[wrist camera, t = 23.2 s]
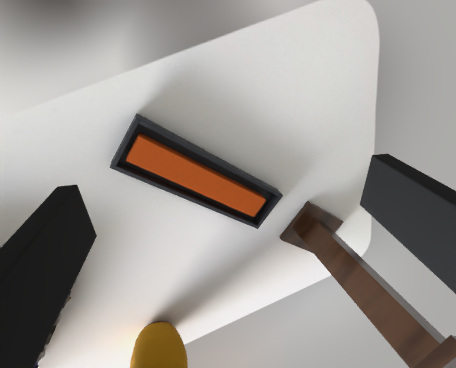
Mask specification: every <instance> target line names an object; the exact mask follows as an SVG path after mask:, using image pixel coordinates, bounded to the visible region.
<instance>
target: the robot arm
mask: <svg viewBox="0 0 456 368" xmlns="http://www.w3.org/2000/svg"><path fill="white" fill-rule="evenodd" d="M360 205H361V206H362V207H363V208H364V209H365V210H366V211H367V212H368V213H369V214H371V215H372V216H373V217H374V218H375V219H376V220H377V221H378V222H379V223H380V224H381V225H382V226H383V227H385V228H386V229H387V230H388V231H389V232H390V233H391V234H392V235H393V236H394V237H395V238H396V239H397V240H398V241H400V242H401V243H402V244H403V245H404V246H405V247H406V248H407V249H408V250H409V251H410V252H411V253H413V254H414V255H415V256H416V257H417V258H418V259H419V260H420V261H421V262H422V263H423V264H424V265H425V266H427V268H429V269H430V270H431V271H432V272H433V273H434V274H435V275H436V276H437V277H438V278H440V279H441V280H442V281H443V282H444V283H445V284H446V285H447V286H448V287H449V288H450V289H451V290H452V291H453V292H454V293H455V294H456V191H455V190H453V189H451V188H449V187H448V186H446V185H444V184H442V183H440V182H438V181H436V180H435V179H433V178H431V177H429V176H427V175H425V174H424V173H422V172H420V171H418V170H416V169H415V168H413V167H411V166H409V165H407V164H405V163H404V162H402V161H400V160H398V159H396V158H394V157H393V156H391V155H389V154H380V155H372V158H371V162H370V166H369V170H368V174H367V178H366V182H365V186H364V190H363V194H362V197H361V201H360ZM96 237H97V235H96V233H95V230H94V227H93V225H92V222H91V220H90V217H89V214H88V212H87V209H86V207H85V204H84V202H83V199H82V196H81V194H80V191H79V189H78V186H77V185H69V186H59V187H57V188H56V189H55V190H54V191H53V192H52V193H51V194H50V195H49V196H48V197H47V199H46V200H45V201H44V202H43V203H42V204H41V205H40V206H39V207H38V208H37V209H36V210H35V212H34V213H33V214H32V215H31V216H30V217H29V218H28V219H27V220H26V221H25V222H24V223H23V225H22V226H21V227H20V228H19V229H18V230H17V231H16V232H15V233H14V234H13V235H12V236H11V238H10V239H9V240H8V241H7V242H6V243H5V244H4V245H3V246H2V247H1V248H0V368H34V366H35V364H36V362H37V360H38V358H39V356H40V353H41V351H42V349H43V347H44V345H45V343H46V341H47V339H48V337H49V335H50V333H51V330H52V328H53V326H54V324H55V322H56V320H57V318H58V316H59V314H60V312H61V310H62V308H63V305H64V303H65V301H66V299H67V297H68V295H69V293H70V291H71V289H72V287H73V285H74V282H75V280H76V278H77V276H78V274H79V272H80V270H81V268H82V266H83V264H84V262H85V260H86V257H87V255H88V253H89V251H90V249H91V247H92V245H93V243H94V241H95V239H96Z"/></svg>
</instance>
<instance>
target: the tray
mask: <svg viewBox="0 0 456 368" xmlns="http://www.w3.org/2000/svg"><path fill="white" fill-rule="evenodd" d="M139 132H140V133H142V134H144V135H146V136H148V137H150V138H152V139H154V140H156V141H158V142H160V143H162V144H164V145H166V146H168V147H170V148H172V149H174V150H176V151H178V152H180V153H182V154H183V155H185V156H187V157H189V158H191V159H193V160H195V161H197V162H199V163H201V164H203V165H205V166H207V167H209V168H211V169H213V170H215V171H217V172H219V173H221V174H223V175H225V176H227V177H229V178H230V179H232V180H234V181H236V182H238V183H240V184H242V185H244V186H246V187H248V188H250V189H252V190H254V191H256V192H258V193H260V194H262V196H263V197H264V198H265V199H266V201H265V203H264V204H263V205H262V207H261V208H260V209H259V211H258V212H257V213H256V215H255V216H254V217H252V216H250V215H248V214H246V213H243V212H241V211H239V210H237V209H234V208H232V207H230V206H228V205H225V204H223V203H221V202H219V201H216V200H214V199H212V198H210V197H207V196H205V195H203V194H200V193H198V192H196V191H194V190H191V189H189V188H187V187H185V186H182V185H180V184H178V183H176V182H173V181H171V180H169V179H167V178H164V177H162V176H160V175H157V174H155V173H153V172H151V171H148V170H146V169H144V168H142V167H139V166H137V165H135V164H133V163H130V162H128V161H126V158H127V154H128V152H129V150H130V148H131V146H132V145H133V143H134V141H135V139H136V137H137V135H138V133H139ZM110 168H111V169H114V170H116V171H119V172H121V173H124V174H126V175H128V176H131V177H133V178H136V179H138V180H141V181H143V182H145V183H148V184H150V185H153V186H155V187H158V188H160V189H162V190H165V191H167V192H170V193H172V194H174V195H177V196H179V197H182V198H184V199H187V200H189V201H191V202H194V203H196V204H199V205H201V206H204V207H206V208H208V209H211V210H213V211H216V212H218V213H221V214H223V215H225V216H228V217H230V218H233V219H235V220H238V221H240V222H242V223H245V224H247V225H250V226H252V227H255V228H257V229H258V228H259V227H260V225H261V224H262V223H263V221H264V220H265V219H266V217H267V216H268V215H269V213H270V212H271V211H272V209H273V208H274V207H275V205H276V204H277V203H278V201H279V200H280V199H281V197H282V196H283V195H282V194H281V193H280V192H279V191H278V189H276V188H274V187H272V186H270V185H268V184H266V183H265V182H263V181H261V180H259V179H257V178H255V177H254V176H252V175H250V174H248V173H246V172H244V171H242V170H241V169H239V168H237V167H235V166H233V165H231V164H229V163H228V162H226V161H224V160H222V159H220V158H218V157H217V156H215V155H213V154H211V153H209V152H207V151H205V150H204V149H202V148H200V147H198V146H196V145H194V144H192V143H191V142H189V141H187V140H185V139H183V138H181V137H180V136H178V135H176V134H174V133H172V132H170V131H168V130H167V129H165V128H163V127H161V126H159V125H157V124H156V123H154V122H152V121H150V120H148V119H146V118H144V117H143V116H141V115H139V114H136V115H135V117H134V119H133V121H132V123H131V125H130V127H129V129H128V131H127V133H126V135H125V137H124V139H123V140H122V142H121V144H120V146H119V148H118V150H117V152H116V154H115V156H114V158H113V160H112V162H111V165H110Z"/></svg>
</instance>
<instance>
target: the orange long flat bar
mask: <svg viewBox="0 0 456 368" xmlns="http://www.w3.org/2000/svg"><path fill="white" fill-rule="evenodd" d="M126 161H128V162H130V163H133V164H135V165H137V166H139V167H142V168H144V169H146V170H148V171H151V172H153V173H155V174H157V175H160V176H162V177H164V178H167V179H169V180H171V181H173V182H176V183H178V184H180V185H182V186H185V187H187V188H189V189H191V190H194V191H196V192H198V193H200V194H203V195H205V196H207V197H210V198H212V199H214V200H216V201H219V202H221V203H223V204H225V205H228V206H230V207H232V208H234V209H237V210H239V211H241V212H243V213H246V214H248V215H250V216H252V217H254V216H255V215H256V213H257V212H258V211H259V209H260V208H261V207H262V205H263V204H264V203H265V201H266V199H265V198H264V197H263V196H262V194H260V193H258V192H256V191H254V190H252V189H250V188H248V187H246V186H244V185H242V184H240V183H238V182H236V181H234V180H232V179H230V178H229V177H227V176H225V175H223V174H221V173H219V172H217V171H215V170H213V169H211V168H209V167H207V166H205V165H203V164H201V163H199V162H197V161H195V160H193V159H191V158H189V157H187V156H185V155H183V154H182V153H180V152H178V151H176V150H174V149H172V148H170V147H168V146H166V145H164V144H162V143H160V142H158V141H156V140H154V139H152V138H150V137H148V136H146V135H144V134H142V133H140V132H139V133H138V135H137V137H136V139H135V141H134V143H133V145H132V146H131V148H130V150H129V152H128V154H127V158H126Z"/></svg>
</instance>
